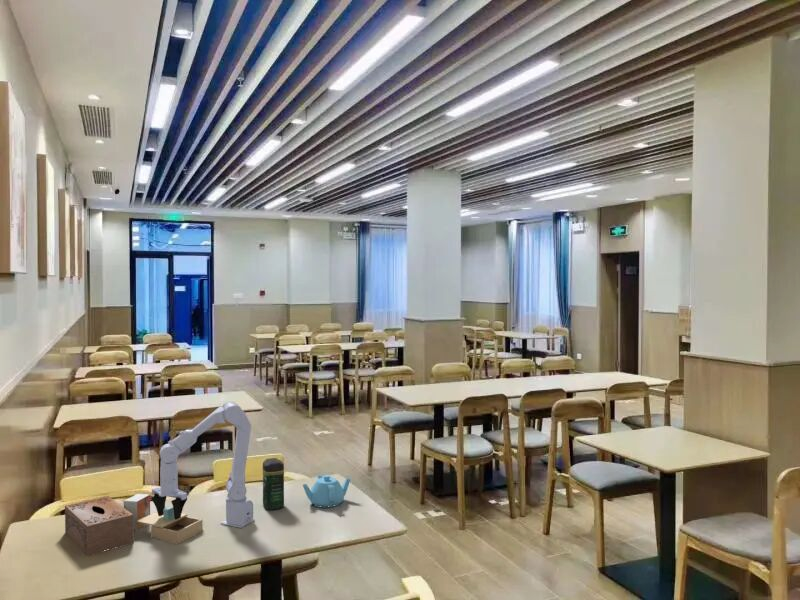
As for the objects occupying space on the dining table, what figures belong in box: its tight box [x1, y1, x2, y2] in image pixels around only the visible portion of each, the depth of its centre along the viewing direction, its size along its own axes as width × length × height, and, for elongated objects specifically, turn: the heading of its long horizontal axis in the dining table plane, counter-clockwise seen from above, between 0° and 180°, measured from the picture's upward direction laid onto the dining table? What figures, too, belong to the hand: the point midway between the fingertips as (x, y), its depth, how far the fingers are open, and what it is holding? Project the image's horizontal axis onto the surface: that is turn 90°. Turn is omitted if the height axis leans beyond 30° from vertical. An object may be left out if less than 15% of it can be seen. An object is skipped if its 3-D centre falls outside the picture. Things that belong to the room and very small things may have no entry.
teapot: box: [302, 474, 351, 508], centre depth 241 cm, size 15×15×11 cm
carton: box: [150, 515, 204, 545], centre depth 210 cm, size 12×12×4 cm
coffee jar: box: [262, 457, 285, 510], centre depth 237 cm, size 10×8×19 cm
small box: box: [123, 493, 151, 531], centre depth 217 cm, size 8×6×10 cm
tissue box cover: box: [64, 495, 135, 557], centre depth 207 cm, size 26×14×10 cm, turn 43°
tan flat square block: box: [136, 505, 188, 528], centre depth 212 cm, size 12×12×5 cm
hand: (169, 516), depth 211 cm, fingers open, 7 cm apart
